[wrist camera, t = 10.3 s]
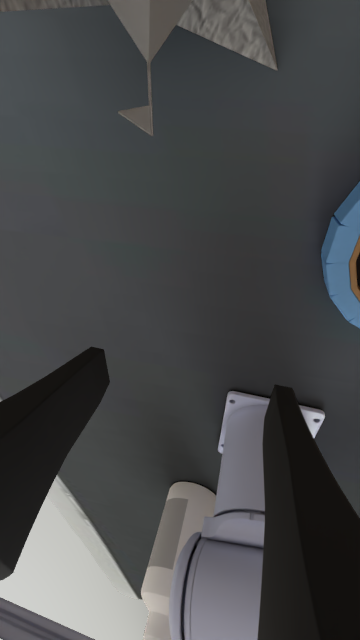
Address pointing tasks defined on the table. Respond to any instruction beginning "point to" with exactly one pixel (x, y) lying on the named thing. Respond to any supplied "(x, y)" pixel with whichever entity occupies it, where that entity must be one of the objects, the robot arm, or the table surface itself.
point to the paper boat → (187, 12)
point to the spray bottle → (172, 550)
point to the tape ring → (344, 257)
